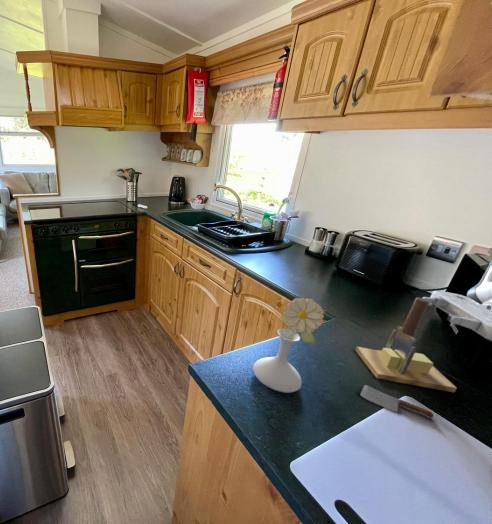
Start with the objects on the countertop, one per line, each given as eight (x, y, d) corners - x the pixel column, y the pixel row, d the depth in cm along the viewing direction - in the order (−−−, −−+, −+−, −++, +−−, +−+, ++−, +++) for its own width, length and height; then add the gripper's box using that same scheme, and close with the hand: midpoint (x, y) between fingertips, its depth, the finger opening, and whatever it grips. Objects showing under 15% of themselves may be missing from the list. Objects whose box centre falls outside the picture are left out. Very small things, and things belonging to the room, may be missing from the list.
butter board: (422, 362, 85) (437, 333, 81) (454, 392, 74) (473, 361, 70) (355, 350, 88) (366, 322, 84) (376, 378, 77) (390, 347, 73)
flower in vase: (243, 366, 77) (263, 282, 69) (279, 362, 80) (303, 281, 71) (274, 406, 66) (303, 310, 57) (315, 399, 68) (350, 307, 59)
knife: (397, 344, 82) (419, 295, 76) (411, 358, 76) (437, 306, 70) (386, 342, 82) (408, 293, 77) (400, 357, 76) (425, 304, 71)
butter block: (418, 364, 81) (423, 354, 80) (428, 374, 78) (433, 363, 76) (389, 359, 82) (394, 349, 81) (398, 368, 79) (403, 358, 78)
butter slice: (386, 358, 83) (391, 348, 81) (395, 368, 79) (400, 357, 78) (378, 357, 83) (383, 347, 82) (386, 366, 79) (391, 356, 78)
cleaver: (360, 394, 70) (364, 380, 73) (358, 398, 71) (362, 384, 74) (434, 428, 62) (434, 411, 65) (431, 432, 63) (431, 415, 66)
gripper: (470, 289, 80) (414, 282, 82) (551, 330, 61) (474, 318, 64) (460, 309, 82) (405, 301, 85) (534, 354, 63) (461, 342, 66)
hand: (435, 309), depth 74 cm, fingers open, 8 cm apart
